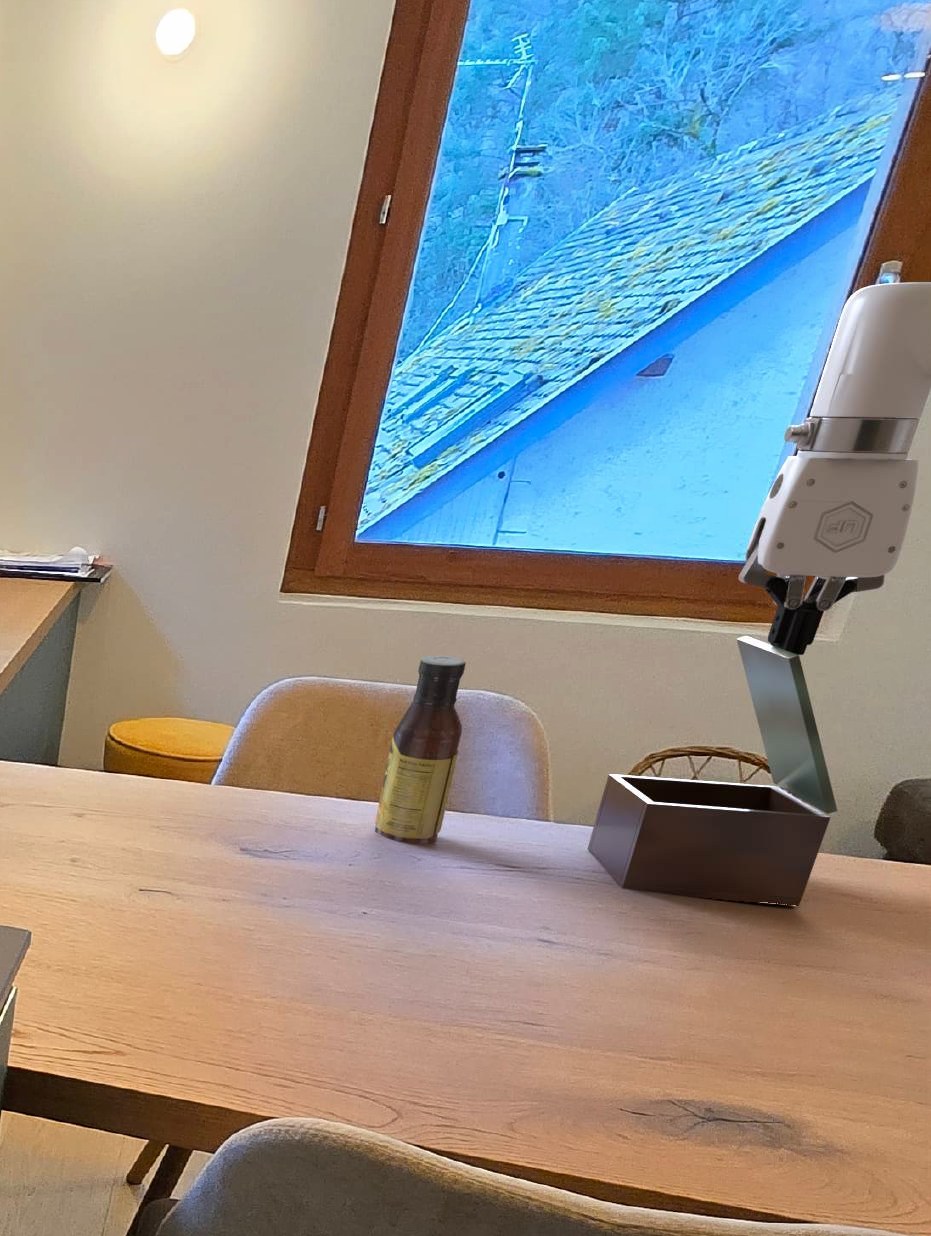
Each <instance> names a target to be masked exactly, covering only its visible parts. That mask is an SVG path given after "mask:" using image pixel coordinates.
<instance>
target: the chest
mask: <svg viewBox="0 0 931 1236" xmlns="http://www.w3.org/2000/svg"><path fill="white" fill-rule="evenodd" d="M830 820H831V817H830V816H828V814H826V813H824V812H822V811H821V810H819V809H817V808H816V807H814V806H812V805H810V804H809V803H807V802H805V801H803V800H802V799H800V798H798V797H797V796H795V795H793V794H791V793H790V792H788V791H786V790H785V789H783V788H781V787H780V786H778V785H764V784H752V783H739V782H723V781H712V780H711V781H710V780H709V781H708V780H697V779H696V780H695V779H683V778H669V777H667V778H666V777H656V776H655V777H653V776H641V775H627V774H626V775H625V774H612V773H611V774H610V773H609V774H608V775H607V779H606V783H605V786H604V790H603V793H602V796H601V800H600V803H599V807H598V810H597V814H596V817H595V820H594V823H593V828H592V832H591V835H590V839H589V841H588V846H587V851H589V853H590V854H591V855H592V856H593V857H594V858H595V859H596V861H597V862H598V863H599V864H600V865H601V866H602V868H603V869H604V870H605V871H606V873H607V874H608V875H609V876H610V878H612V879H613V881H614V882H615V883H616V884H617V885H618V886H619V887H620V888H622V889H625V890H630V891H631V890H632V891H639V892H647V893H655V894H662V895H671V896H678V897H686V896H688V897H687V898H696V897H699V898H698V899H701V898H700V897H703V898H702V899H707V898H712V899H711V900H717V899H722V900H721V901H728V900H729V901H730V900H731V901H732V902H739V901H744V902H743V903H750V902H768V903H776V904H777V903H778V904H785V905H786V904H787V905H796V906H799V907H800V905H801V902H802V899H803V896H804V894H805V891H806V888H807V885H808V882H809V879H810V877H811V874H812V871H813V868H814V865H815V863H816V860H817V857H818V854H819V851H820V849H821V846H822V842H823V840H824V838H825V834H826V831H827V829H828V826H829V823H830ZM734 900H735V901H734ZM731 901H730V902H731Z"/></svg>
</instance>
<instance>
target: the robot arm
mask: <svg viewBox="0 0 931 1236" xmlns="http://www.w3.org/2000/svg"><path fill="white" fill-rule="evenodd" d="M833 337H834V338H833V340H832V344H831V347H830V350H829V353H828V356H827V360H826V363H825V365H824V369H823V372H822V375H821V378H820V382H819V385H818V387H817V391H816V394H815V397H814V401H813V404H812V407H811V410H810V413H809V417H806V418H805V420H804V422H803V423H801V424H799V425H789V426H788V427H787V428H786V430H785V434H784V437H783V438H784V439H783V441H784V442H786V443H787V442H788V443H794V444H796V450H797V454H796V455H789V456H787V458H786V460H785V462H784V463H783V465H782V467H781V469H780V470H779V472H778V474H777V475H776V477H775V480H774V482H773V484H772V485H771V487H770V489H769V491H768V494H767V496H766V498H765V500H764V502H763V505H762V507H761V509H760V512H759V514H758V517H757V519H756V522H755V525H754V527H753V530H752V533H751V535H750V538H749V541H748V544H747V548H746V553H745V565H744V566H743V567H742V570H741V571H740V573H739V575H738V581H739V582H741V583H743V584H747V585H750V586H755V587H758V588H761V589H764V590H765V592H766V593H767V594H768V595H769V596H770V598H771V599H772V602H773V604H774V605H776V606H777V607H776V610H775V613H774V617H773V620H772V622H771V626H770V629H769V632H768V635H767V642H768V644H769V645H772V646H775V647H778V648H780V649H783V650H786V651H788V652H791V653H794V654H796V655H799V656H803V655H804V654H805V653H806V650H807V647H808V646H811V645H812V644H813V643H814V641H815V638H816V636H817V635H816V634H817V631H818V629H819V626H820V623H821V621H822V620H821V619H822V617H823V614H824V612H826V611H828V610H830V609H831V608H832V606H833V605H834V604H836V603H837V602H839V601H840V600H842V599H843V598H845V597H847V596H849V595H850V594H851V593H859V592H860V593H861V592H866V591H873V590H878V589H880V588H882V587H883V585H885V584H884V583H885V575H887V574H889V573H890V572H892V571H893V570H894V568H895V566H896V564H897V562H898V560H899V557H900V554H901V551H902V547H903V546H904V545H903V544H904V541H905V537H906V535H907V530H908V526H909V522H910V518H911V515H912V509H913V504H914V500H915V499H914V498H915V493H916V487H917V482H918V481H917V480H918V471H919V459H916V458H915V459H914V458H908V455H909V452H910V450H911V447H912V444H913V441H914V439H915V435H916V433H917V429H918V427H919V423H920V421H921V419H920V418H921V417H922V415H923V412H924V409H925V406H926V403H927V401H928V398H929V395H930V392H931V282H929V281H928V282H923V281H922V282H921V281H920V282H916V281H915V282H893V283H881V284H873V285H868V286H865V287H862V288H860V289H858V290H857V291H854V293H853V294H852V295H850V297H849V298H848V299H847V301H846V303H845V304H844V307H843V309H842V312H841V315H840V318H839V321H838V325H837V328H836V331H835V334H834V336H833ZM766 571H768V572H771V573H774V574H776V575H772V574H769V573H767V572H766ZM807 576H810V577H813V576H815V577H814V579H813V581H812V583H811V585H810V587H809V588H808V591H807V592H806V594H805V596H804V593H805V586H806V579H807Z"/></svg>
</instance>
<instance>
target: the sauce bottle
mask: <svg viewBox="0 0 931 1236" xmlns="http://www.w3.org/2000/svg"><path fill="white" fill-rule="evenodd" d="M465 669H466V661H465V659H462V658H459V657H455V656H449V655H448V656H447V655H427V656H423V657H422V658H421V659H420V662H419V666H418V670H417V672H418V675H419V676H418V678H417V679H418V680H417V685H416V690H415V693H414V695H413V700H412V701H411V703H410V705H409V707H408V708H407V709H406V712H405V713H404V715H403V716H402V718H401V719H400V721H399V723H398V725H397V726H396V728H395V729H394V731H393V734H392V738H391V742H390V744H391V745H390V748H389V753H388V759H387V762H386V763H387V764H386V768H385V773H384V777H383V781H382V788H381V793H380V797H379V801H378V807H377V811H376V817H375V822H374V827H375V829H374V832H375V833H377V834H378V835H379V836H381V837H384V838H386V839H389V840H393V841H396V842H402V843H406V844H407V843H408V844H414V845H415V844H416V845H433V844H435V843H436V842H437V841H438V835H439V833H440V832H441V830H442V826H443V821H444V818H445V813H446V809H447V804H448V799H449V796H450V795H449V794H450V791H451V786H452V783H453V778H454V772H455V769H456V763H457V760H458V756H459V746H460V741H461V736H462V732H463V726H462V722H461V719H460V715H459V714H458V712H457V709H456V707H455V704H456V703H457V700H458V699H457V696H458V695H457V694H458V691H459V687H460V682H461V679H462V677H463V676H464V673H465Z"/></svg>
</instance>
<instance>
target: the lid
mask: <svg viewBox="0 0 931 1236" xmlns="http://www.w3.org/2000/svg"><path fill="white" fill-rule="evenodd" d="M736 642H737V647H738V651H739V654H740V659H741V662H742V666H743V671H744V674H745V679H746V682H747V686H748V689H749V693H750V698H751V701H752V705H753V709H754V713H755V716H756V719H757V720H756V721H757V725H758V729H759V733H760V736H761V740H762V744H763V748H764V752H765V755H766V760H767V763H768V768H769V771H770V775H771V779H772V783H773V784H775V786H777V787H779V788H780V789H782V790H784V791H786V792H787V793H789V794H791V795H793V796H794V797H796V798H798V799H799V800H801V801H803V802H805V803H806V804H808V805H810V806H812V807H813V808H815V809H817V810H818V811H820V812H822V813H824V814H825V815H829V814H832V813H836V812H838V808H837V802H836V799H835V796H834V791H833V788H832V783H831V779H830V774H829V770H828V767H827V763H826V758H825V755H824V750H823V747H822V741H821V737H820V734H819V730H818V726H817V722H816V718H815V714H814V710H813V706H812V702H811V698H810V693H809V690H808V686H807V681H806V677H805V673H804V669H803V665H802V661H801V656H800V655H796V654H794V653H791V652H788V651H786V650H783V649H780V648H778V647H775V646H772V645H770V643H767V642H765V641H762V640H759V639H755V638H754V637H750V636H748V635H743V636H741V637H738V638H736Z"/></svg>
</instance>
